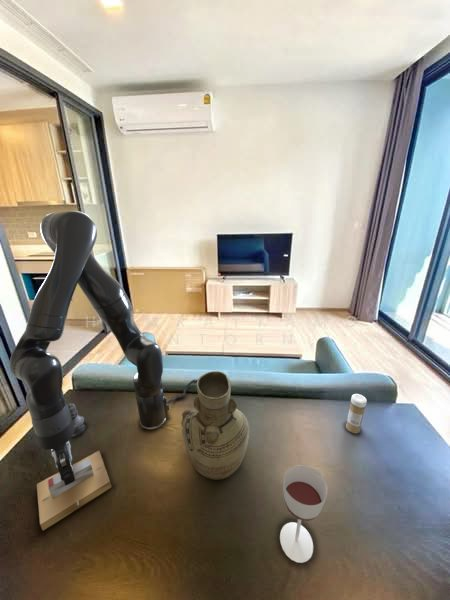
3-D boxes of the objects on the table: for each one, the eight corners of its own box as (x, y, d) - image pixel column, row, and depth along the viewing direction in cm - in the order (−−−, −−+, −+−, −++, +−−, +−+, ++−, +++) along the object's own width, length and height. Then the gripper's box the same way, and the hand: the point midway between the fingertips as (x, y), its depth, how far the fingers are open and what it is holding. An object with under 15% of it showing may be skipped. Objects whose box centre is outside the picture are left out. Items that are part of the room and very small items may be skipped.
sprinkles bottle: (361, 428, 87) (369, 398, 83) (356, 436, 85) (364, 405, 80) (348, 421, 91) (354, 391, 86) (343, 428, 88) (349, 398, 83)
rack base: (99, 453, 79) (98, 447, 79) (112, 490, 69) (111, 484, 68) (38, 486, 70) (36, 480, 69) (43, 535, 60) (40, 528, 59)
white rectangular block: (92, 467, 73) (89, 457, 71) (94, 474, 71) (91, 463, 69) (51, 491, 67) (47, 479, 65) (52, 498, 65) (48, 487, 63)
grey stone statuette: (77, 438, 85) (69, 411, 81) (63, 435, 86) (54, 408, 82) (89, 424, 90) (82, 398, 86) (75, 422, 91) (68, 395, 87)
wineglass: (273, 523, 62) (278, 466, 55) (307, 519, 62) (317, 463, 55) (283, 566, 54) (290, 507, 47) (321, 561, 55) (335, 502, 48)
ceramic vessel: (205, 422, 91) (201, 351, 80) (258, 449, 80) (262, 371, 70) (168, 465, 76) (158, 385, 65) (228, 505, 65) (227, 418, 55)
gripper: (75, 434, 58) (88, 481, 64) (66, 399, 69) (78, 443, 74) (36, 452, 54) (54, 502, 59) (33, 412, 64) (48, 458, 70)
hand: (67, 469), depth 67 cm, fingers open, 8 cm apart
